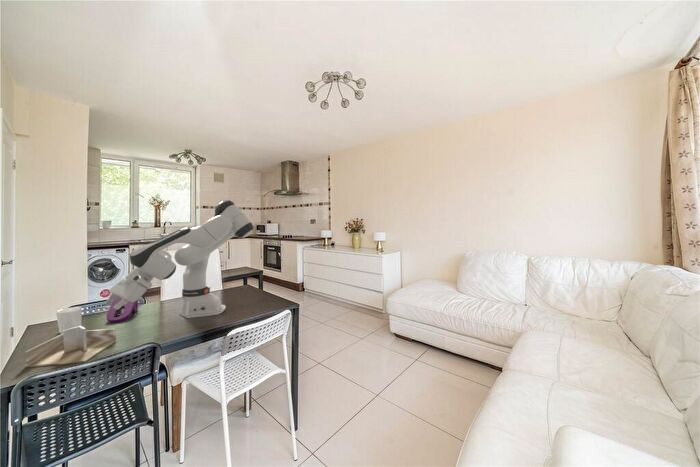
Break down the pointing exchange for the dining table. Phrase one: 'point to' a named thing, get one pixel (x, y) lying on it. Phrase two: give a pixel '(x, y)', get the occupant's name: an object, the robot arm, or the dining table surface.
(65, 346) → the angle bracket
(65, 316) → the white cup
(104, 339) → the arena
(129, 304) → the mounting bracket
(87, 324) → the dining table surface
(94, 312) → the pliers
